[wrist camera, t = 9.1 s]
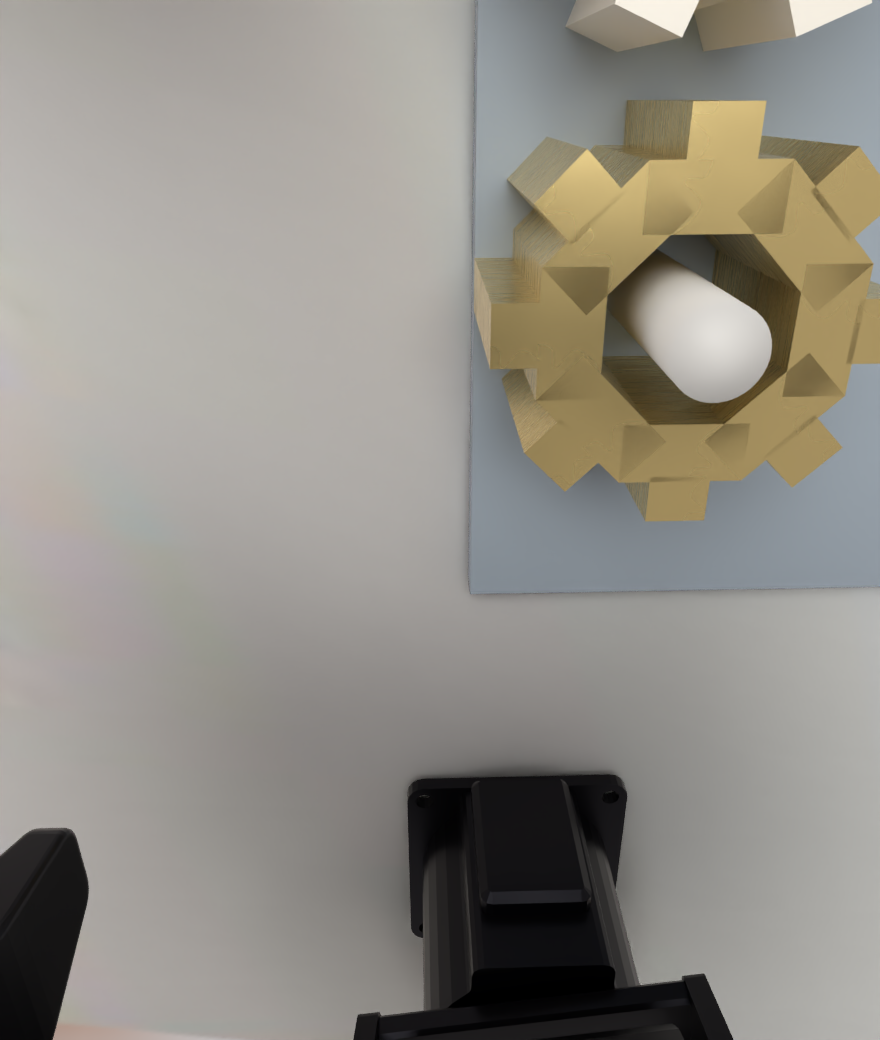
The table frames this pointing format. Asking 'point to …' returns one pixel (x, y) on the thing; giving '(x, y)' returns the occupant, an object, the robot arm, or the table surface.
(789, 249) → the brass gear
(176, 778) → the table surface
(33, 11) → the table surface
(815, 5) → the cream gear
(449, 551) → the table surface
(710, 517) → the gear board
